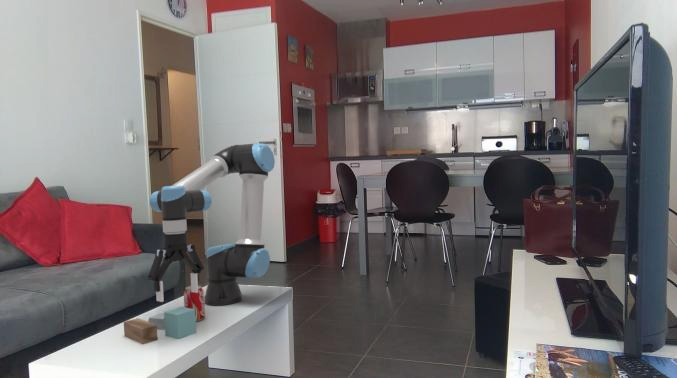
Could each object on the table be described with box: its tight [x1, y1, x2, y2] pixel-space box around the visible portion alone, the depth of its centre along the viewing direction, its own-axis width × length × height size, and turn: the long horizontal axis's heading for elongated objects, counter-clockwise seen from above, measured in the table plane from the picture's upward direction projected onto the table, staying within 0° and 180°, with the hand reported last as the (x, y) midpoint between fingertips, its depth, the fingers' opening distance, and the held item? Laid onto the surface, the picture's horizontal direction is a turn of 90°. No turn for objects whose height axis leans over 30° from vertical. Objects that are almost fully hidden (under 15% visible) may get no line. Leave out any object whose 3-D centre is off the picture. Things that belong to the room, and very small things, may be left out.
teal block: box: [163, 306, 197, 340], centre depth 169 cm, size 7×7×8 cm
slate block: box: [148, 312, 165, 331], centre depth 178 cm, size 6×6×4 cm
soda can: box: [183, 284, 206, 323], centre depth 185 cm, size 7×7×12 cm
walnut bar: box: [123, 317, 159, 345], centre depth 167 cm, size 5×13×5 cm, turn 47°
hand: (178, 296), depth 168 cm, fingers open, 13 cm apart
